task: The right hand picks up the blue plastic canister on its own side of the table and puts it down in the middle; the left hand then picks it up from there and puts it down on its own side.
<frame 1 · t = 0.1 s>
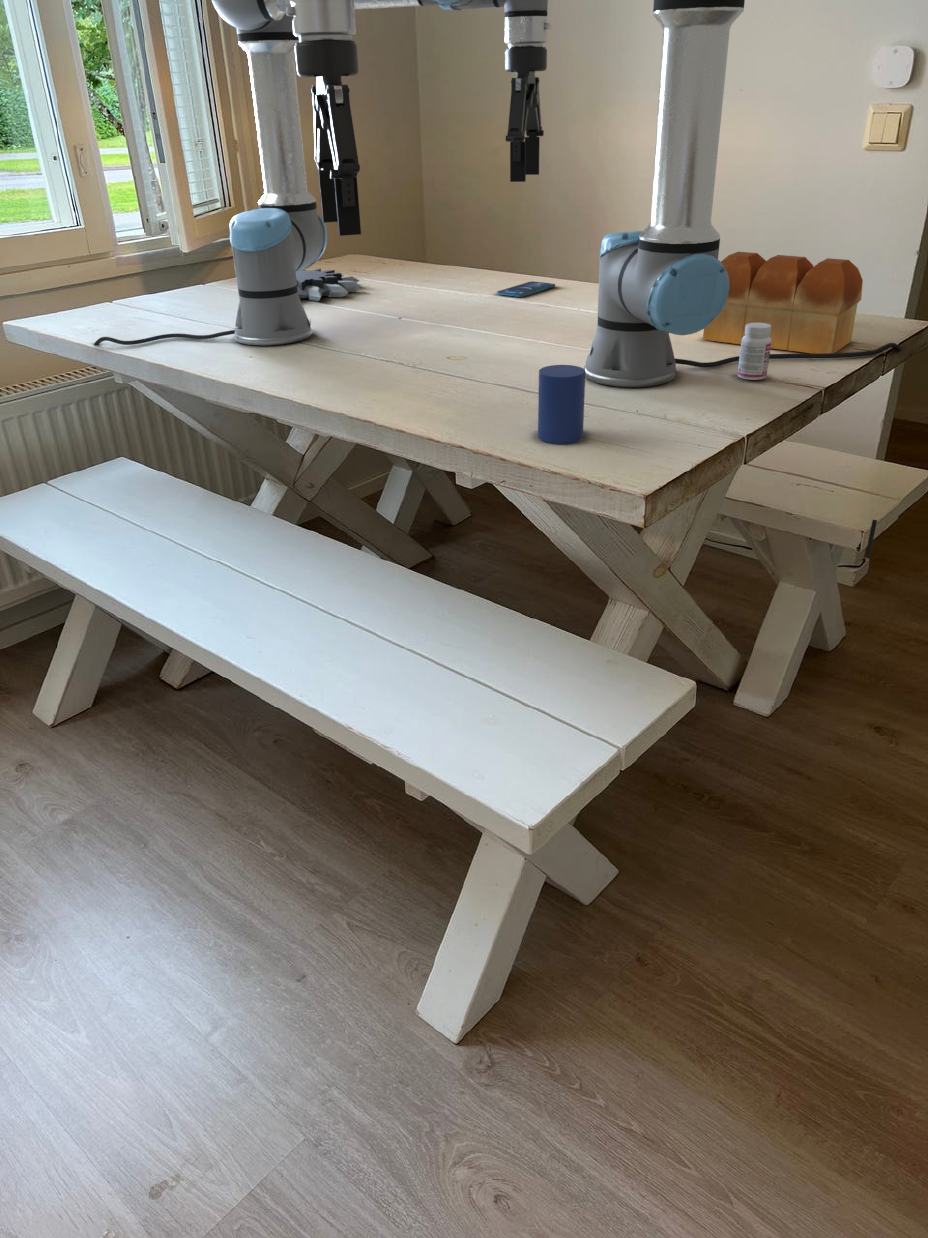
left hand: (525, 177, 177), 28 cm above the table, tool pointing down, fingers open, 13 cm apart
right hand: (341, 228, 124), 28 cm above the table, tool pointing down, fingers open, 13 cm apart
canister: (560, 436, 134), on the table
pill bottle: (751, 377, 157), on the table
bread: (775, 341, 178), on the table
smartphone: (526, 291, 225), on the table
decorative piece: (303, 292, 231), on the table
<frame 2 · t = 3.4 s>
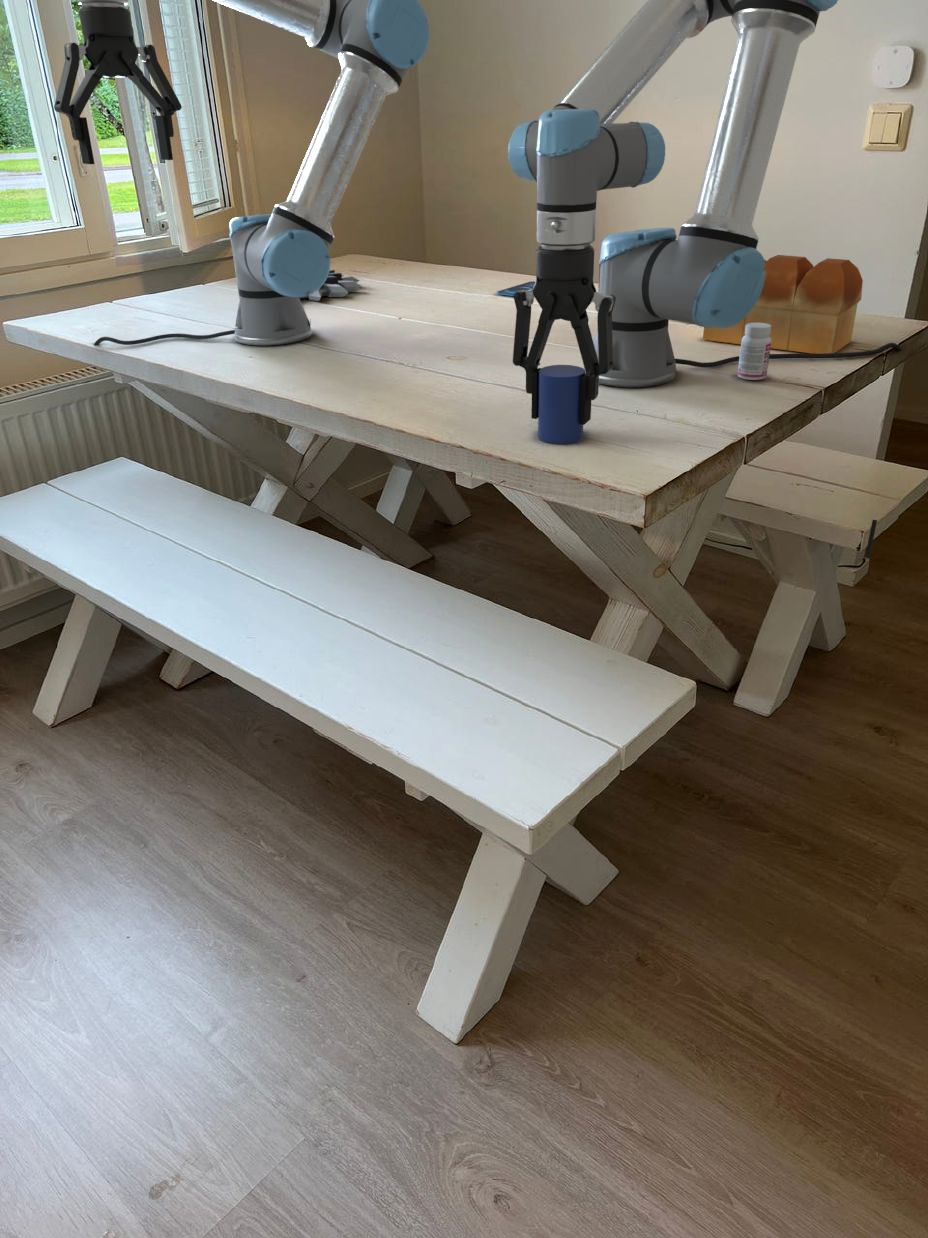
left hand: (129, 161, 154), 34 cm above the table, tool pointing down, fingers open, 13 cm apart
right hand: (560, 418, 133), 3 cm above the table, tool pointing down, fingers closed on canister, 6 cm apart
canister: (560, 436, 134), on the table, touching right hand
everything else where it was.
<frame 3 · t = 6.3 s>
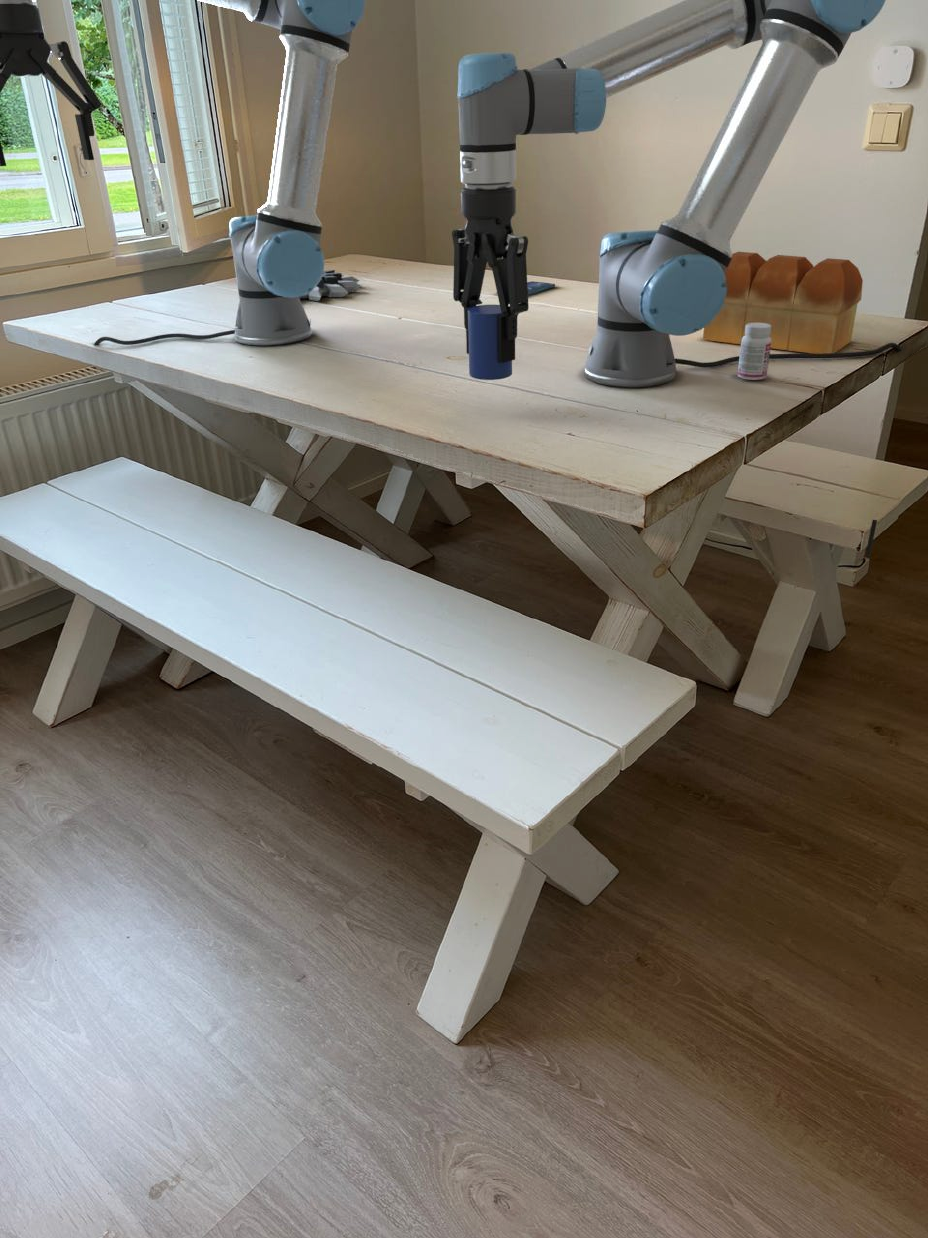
left hand: (46, 162, 150), 35 cm above the table, tool pointing down, fingers open, 13 cm apart
right hand: (490, 356, 139), 9 cm above the table, tool pointing down, fingers closed on canister, 6 cm apart
canister: (490, 374, 141), point 6 cm above the table, touching right hand
everything else where it was.
when the right hand's fingers open (5 cm above the table, at t = 9.1 s): canister drops 2 cm, on the table.
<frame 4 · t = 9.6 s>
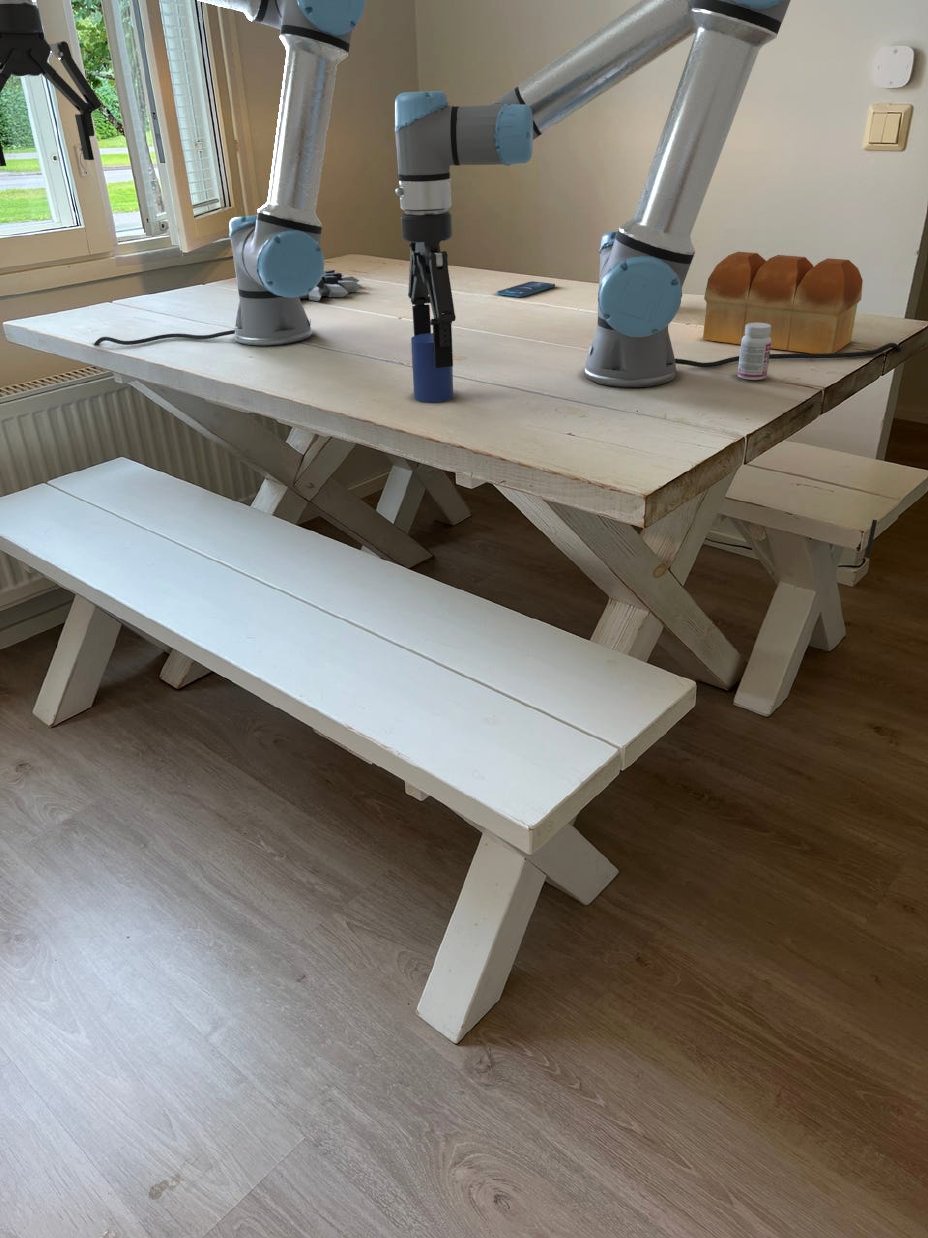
left hand: (46, 162, 150), 35 cm above the table, tool pointing down, fingers open, 13 cm apart
right hand: (433, 356, 149), 7 cm above the table, tool pointing down, fingers open, 13 cm apart
canister: (433, 396, 153), on the table
everything else where it was.
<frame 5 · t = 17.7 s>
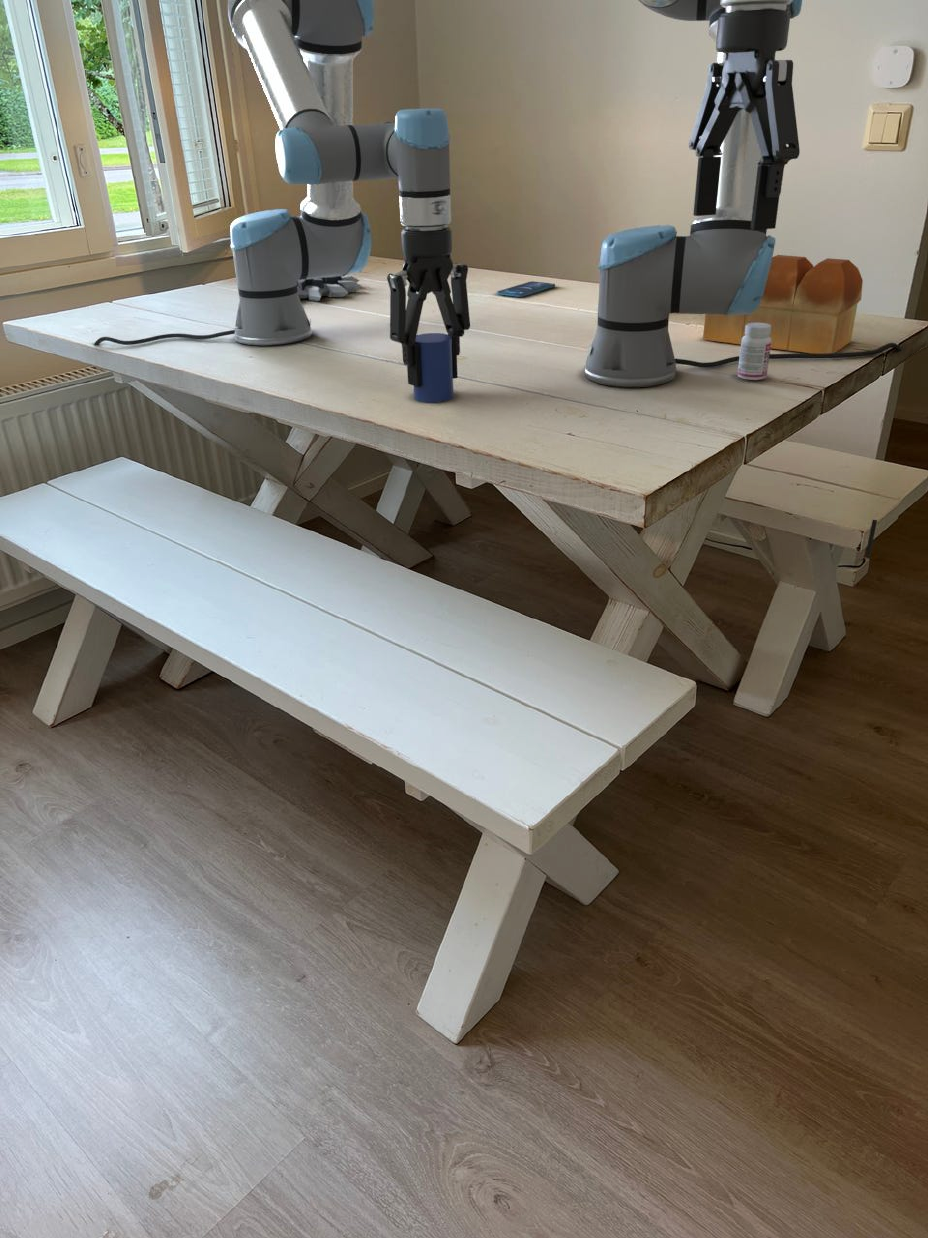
left hand: (432, 380, 151), 3 cm above the table, tool pointing down, fingers closed on canister, 6 cm apart
right hand: (732, 221, 112), 29 cm above the table, tool pointing down, fingers open, 13 cm apart
canister: (433, 396, 153), on the table, touching left hand
everything else where it was.
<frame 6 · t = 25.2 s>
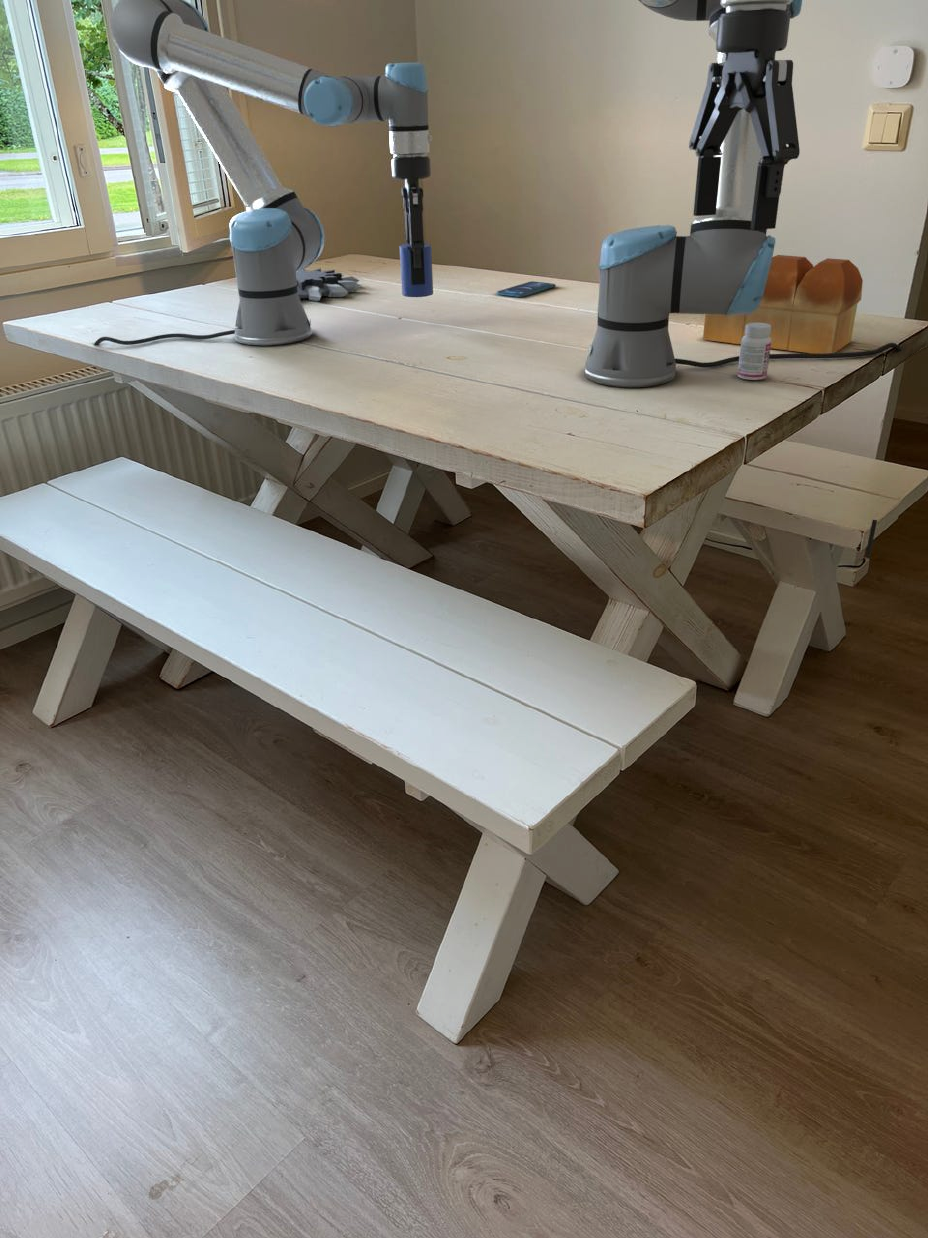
left hand: (416, 280, 192), 9 cm above the table, tool pointing down, fingers closed on canister, 6 cm apart
right hand: (732, 221, 112), 29 cm above the table, tool pointing down, fingers open, 13 cm apart
canister: (417, 294, 194), point 6 cm above the table, touching left hand
everything else where it was.
when the left hand's fingers open (4 cm above the table, at t = 32.6 s): canister drops 2 cm, on the table.
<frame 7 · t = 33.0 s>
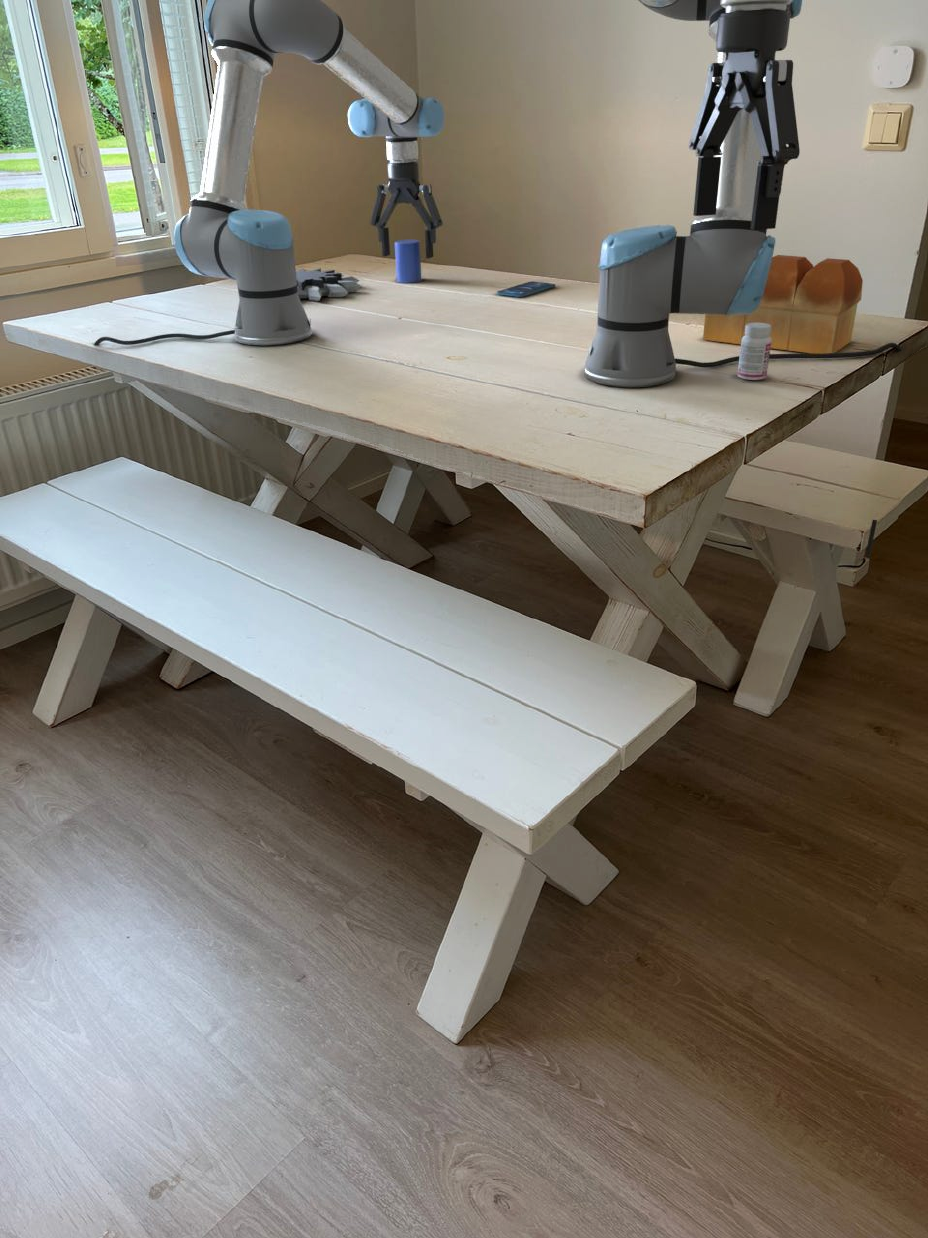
left hand: (407, 256, 238), 6 cm above the table, tool pointing down, fingers open, 11 cm apart
right hand: (732, 221, 112), 29 cm above the table, tool pointing down, fingers open, 13 cm apart
canister: (409, 280, 241), on the table
everything else where it was.
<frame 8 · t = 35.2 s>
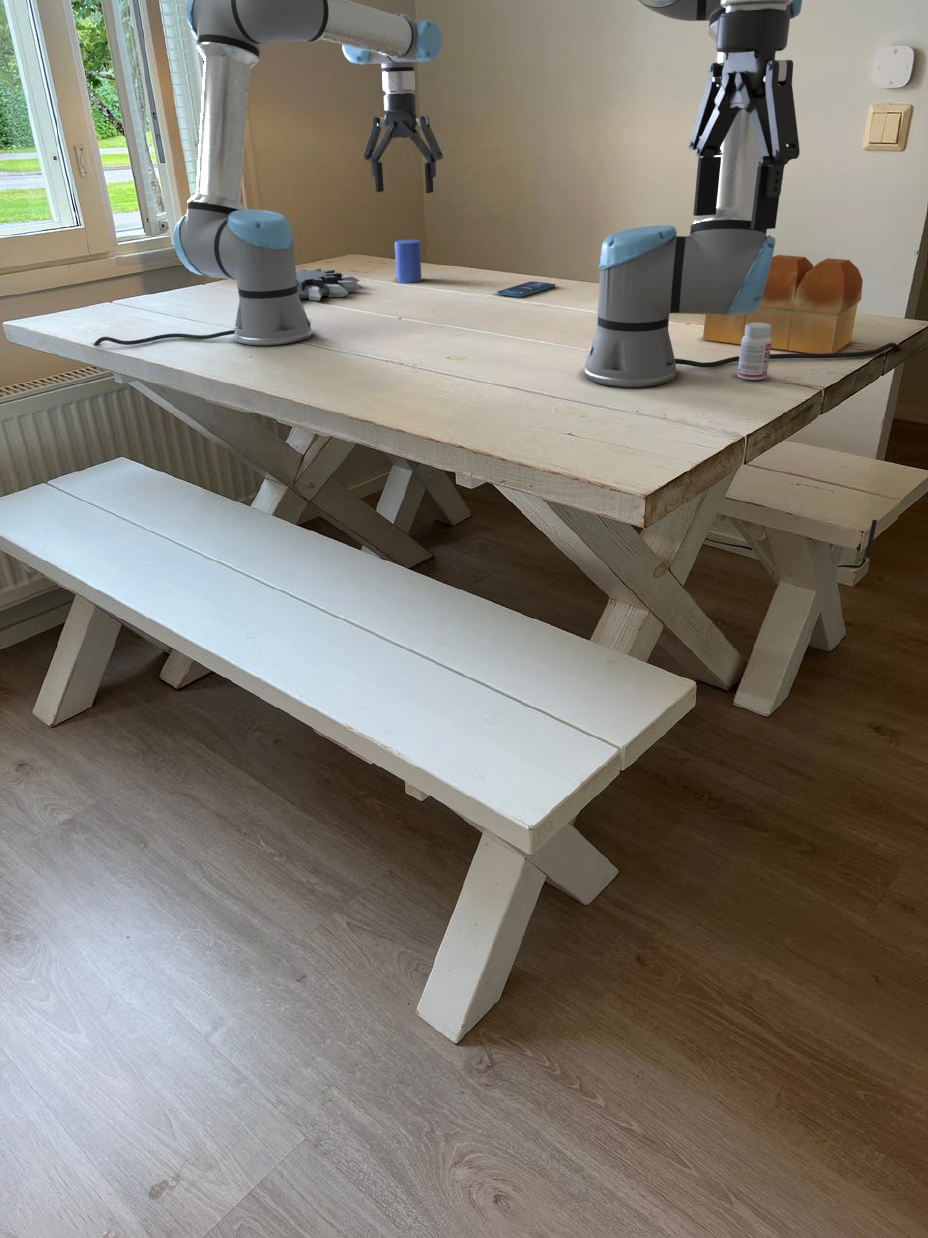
left hand: (404, 192, 231), 21 cm above the table, tool pointing down, fingers open, 13 cm apart
right hand: (732, 221, 112), 29 cm above the table, tool pointing down, fingers open, 13 cm apart
nothing on the table moved.
at the end: canister inside the target area (0.0 cm from its centre), on the table; canister tilted 0°; the two hands never held the canister at the same time; the left hand is holding nothing; the right hand is holding nothing; canister at rest at the end (0.0 cm/s) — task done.
